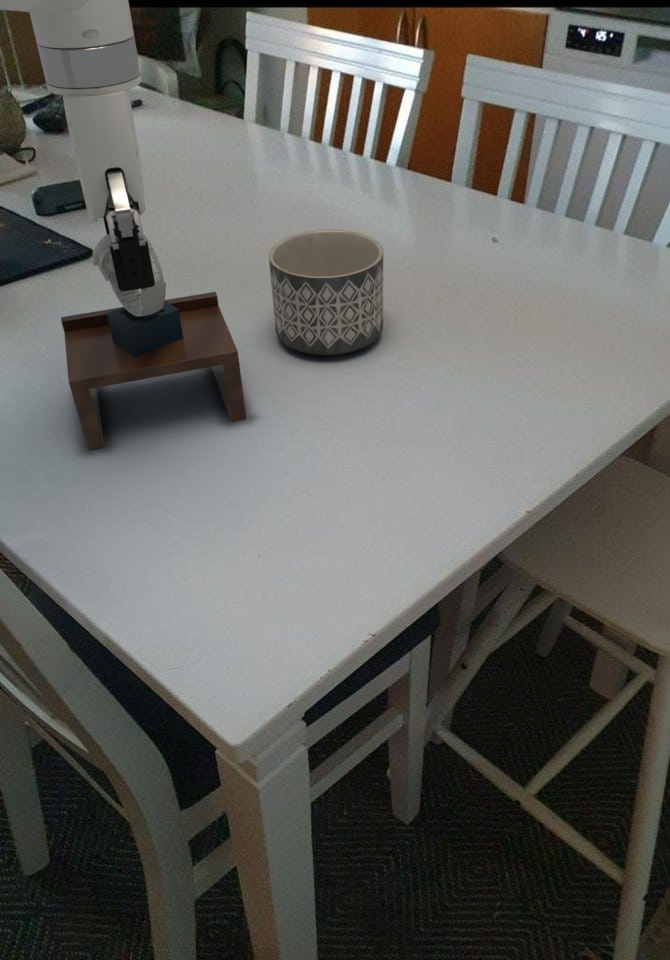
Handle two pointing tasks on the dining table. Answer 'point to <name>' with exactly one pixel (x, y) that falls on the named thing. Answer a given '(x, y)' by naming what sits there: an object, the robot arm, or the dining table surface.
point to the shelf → (149, 358)
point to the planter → (327, 291)
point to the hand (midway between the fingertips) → (131, 266)
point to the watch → (139, 307)
